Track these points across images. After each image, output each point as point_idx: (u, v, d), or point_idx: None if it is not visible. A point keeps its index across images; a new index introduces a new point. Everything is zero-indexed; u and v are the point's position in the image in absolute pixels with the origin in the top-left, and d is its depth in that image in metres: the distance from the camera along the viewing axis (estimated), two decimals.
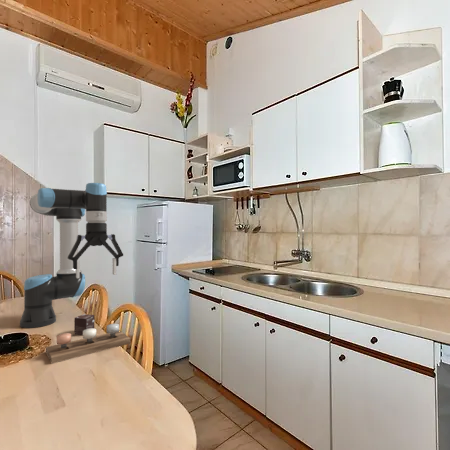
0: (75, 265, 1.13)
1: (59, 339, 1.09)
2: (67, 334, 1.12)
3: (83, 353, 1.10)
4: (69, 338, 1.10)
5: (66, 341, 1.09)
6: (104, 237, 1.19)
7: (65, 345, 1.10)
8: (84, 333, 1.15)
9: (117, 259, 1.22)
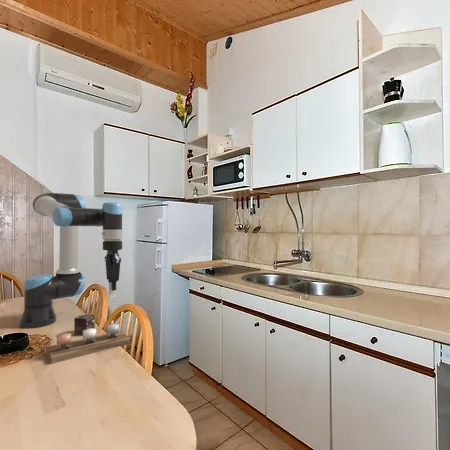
0: None
1: (59, 339, 1.09)
2: (67, 334, 1.12)
3: (83, 353, 1.10)
4: (69, 338, 1.10)
5: (66, 341, 1.09)
6: (112, 254, 1.20)
7: (65, 345, 1.10)
8: (84, 333, 1.15)
9: (112, 283, 1.21)
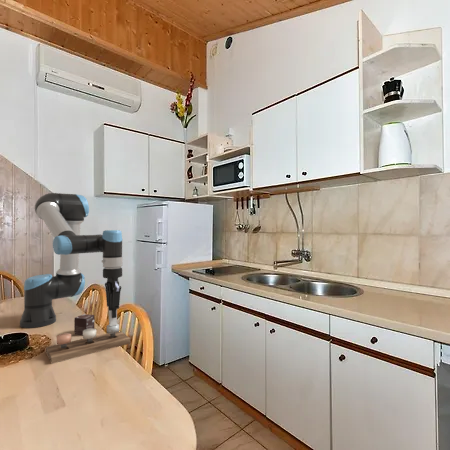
0: None
1: (59, 339, 1.09)
2: (67, 334, 1.12)
3: (83, 353, 1.10)
4: (69, 338, 1.10)
5: (66, 341, 1.09)
6: (112, 282, 1.20)
7: (65, 345, 1.10)
8: (84, 333, 1.15)
9: (112, 311, 1.21)
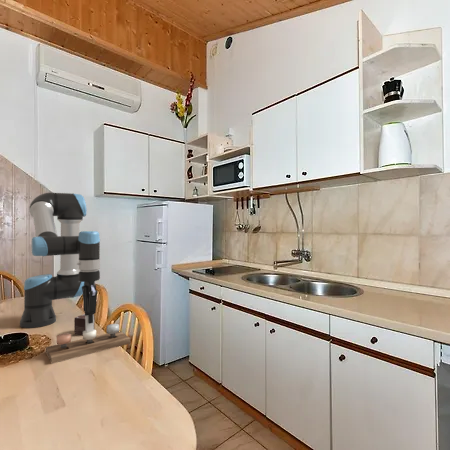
0: None
1: (59, 339, 1.09)
2: (67, 334, 1.12)
3: (83, 353, 1.10)
4: (69, 338, 1.10)
5: (66, 341, 1.09)
6: (88, 286, 1.14)
7: (65, 345, 1.10)
8: (84, 334, 1.15)
9: (88, 316, 1.15)
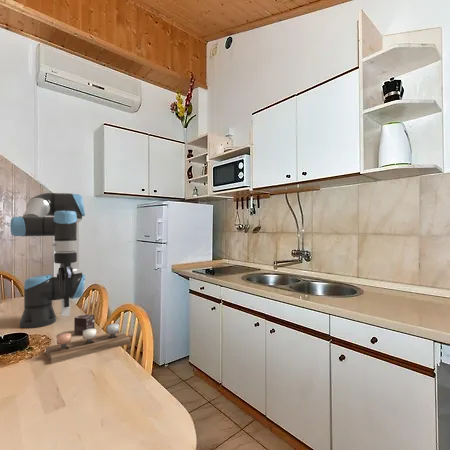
0: None
1: (59, 339, 1.09)
2: (67, 334, 1.12)
3: (83, 353, 1.10)
4: (69, 338, 1.10)
5: (66, 341, 1.09)
6: (64, 268, 1.09)
7: (65, 345, 1.10)
8: (84, 333, 1.15)
9: (64, 299, 1.10)
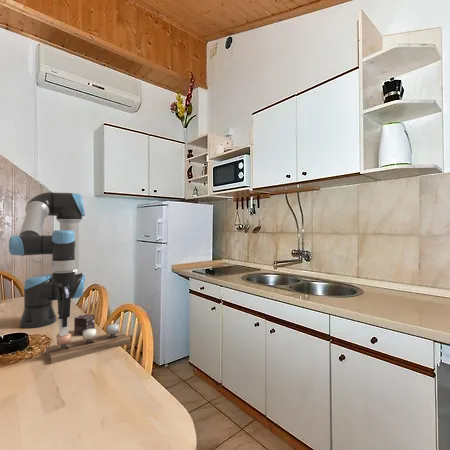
0: None
1: (59, 339, 1.09)
2: None
3: (83, 353, 1.10)
4: (69, 338, 1.10)
5: (66, 341, 1.09)
6: (61, 288, 1.08)
7: (65, 345, 1.10)
8: (84, 333, 1.15)
9: (62, 319, 1.09)
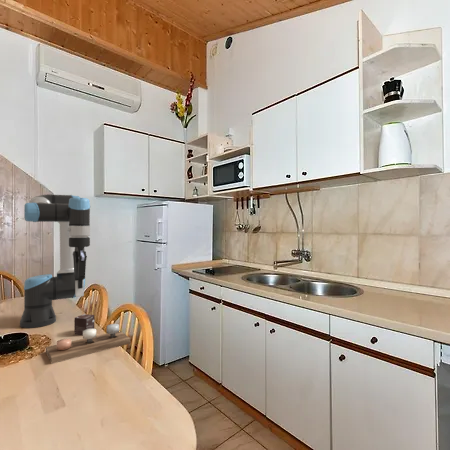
0: None
1: (59, 345, 1.09)
2: (67, 340, 1.12)
3: (83, 353, 1.10)
4: (69, 344, 1.10)
5: (66, 347, 1.09)
6: (77, 252, 1.15)
7: None
8: (84, 333, 1.15)
9: (78, 281, 1.17)
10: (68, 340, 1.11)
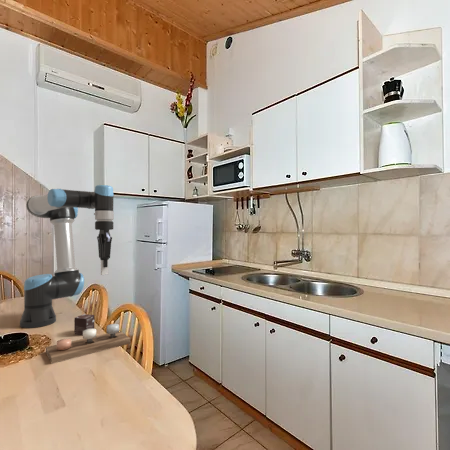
0: None
1: (59, 345, 1.09)
2: (67, 340, 1.12)
3: (83, 353, 1.10)
4: (69, 344, 1.10)
5: (66, 347, 1.09)
6: (103, 234, 1.28)
7: None
8: (84, 333, 1.15)
9: (103, 261, 1.29)
10: (68, 340, 1.11)
